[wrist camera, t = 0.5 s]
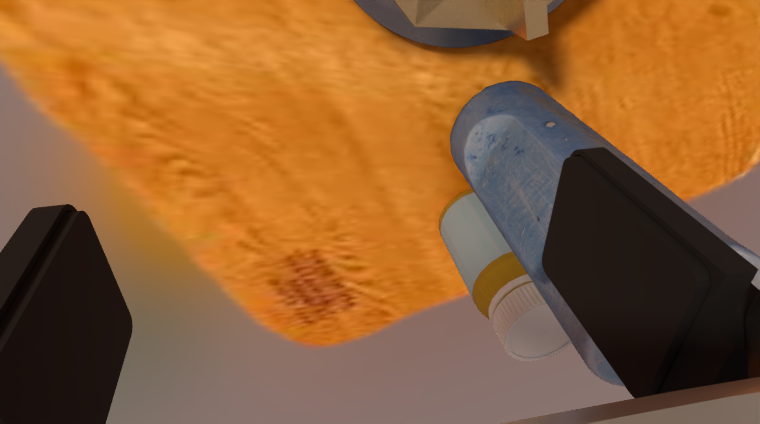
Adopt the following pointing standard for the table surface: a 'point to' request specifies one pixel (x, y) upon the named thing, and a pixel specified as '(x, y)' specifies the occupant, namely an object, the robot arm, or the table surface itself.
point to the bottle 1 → (499, 281)
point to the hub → (387, 13)
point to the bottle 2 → (538, 184)
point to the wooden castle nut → (480, 15)
